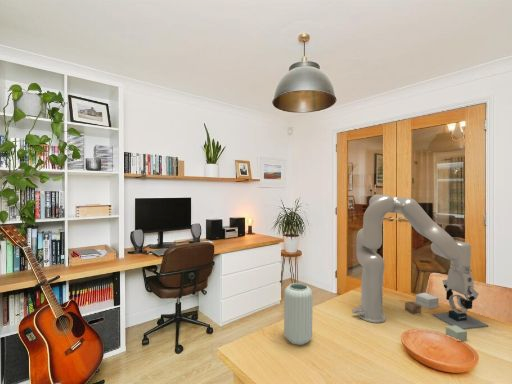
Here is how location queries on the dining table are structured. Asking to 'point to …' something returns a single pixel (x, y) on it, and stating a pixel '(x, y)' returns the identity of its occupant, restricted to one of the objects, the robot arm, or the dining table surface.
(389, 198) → the robot arm
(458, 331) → the sage block
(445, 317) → the slate mat
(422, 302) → the small box
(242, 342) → the dining table surface
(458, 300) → the watch
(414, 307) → the walnut block
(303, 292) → the vase
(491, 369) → the dining table surface
